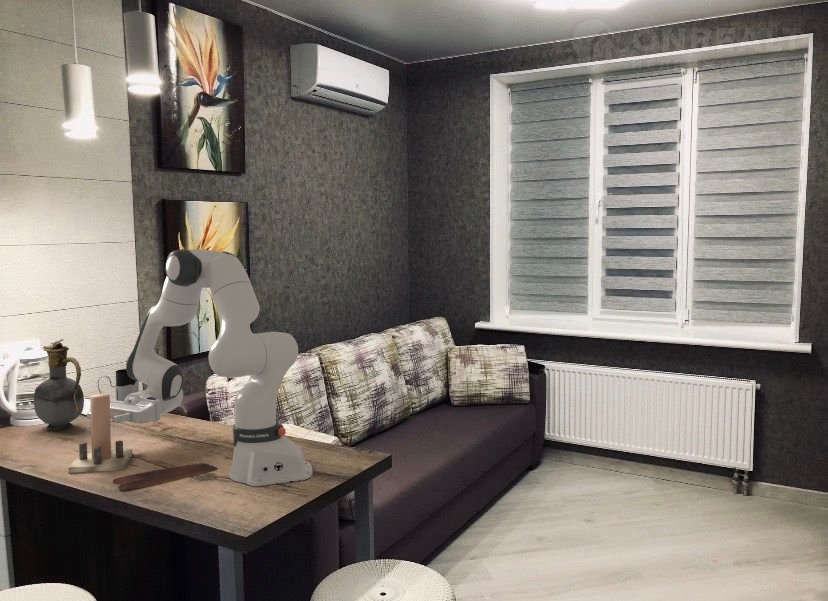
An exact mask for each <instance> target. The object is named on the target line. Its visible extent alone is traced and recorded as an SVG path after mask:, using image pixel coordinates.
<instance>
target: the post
mask: <svg viewBox="0 0 828 601" xmlns="http://www.w3.org/2000/svg"><path fill="white" fill-rule="evenodd" d="M110 398H111V396H110V394H109V393H102V394H100V393H97V394H92V395H90V397H89V400H90V402H89V405H90V407H91V419H90V432H91V433H90V436H91V437H90V438H91V443H90V444H91V451H92V460H94V454H93V448H94V447H101V456H102V460H107V459H110V458H111V450H112V443H111V442H112V441H111V439H112V438H111V435H112V434H111V419H110V400H111V399H110ZM90 407H89V408H90Z"/></svg>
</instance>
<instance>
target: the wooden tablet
mask: <svg viewBox="0 0 828 601" xmlns="http://www.w3.org/2000/svg"><path fill="white" fill-rule="evenodd" d="M217 469H218V467H216V466H215V465H212V464H209V463H205V462H199V463H192V464H186V465H178V466H173V467H166V468H160V469H155V470H149V471H144V472H143V471H142V472H138V473H134V474H129V475H124V476H120V477H117V478H114V479H112V484H114V485H117V486H118V487H117V488H118V490H119V491H121V492H128V491H133V489H134V490H137V489H138V488H139V489H143V488H148V487H153V486H155V485H156V484H157V485H161V484H165V482H166V483H170V482H174V481H179V480H182V478H183V479H186V477H187V478H191V477H195V476H198V475H202V474H206V473H210V472H213V471H216V470H217ZM173 480H174V481H173ZM169 481H170V482H169ZM152 485H153V486H152ZM157 485H156V486H157ZM147 486H148V487H147Z"/></svg>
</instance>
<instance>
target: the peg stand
mask: <svg viewBox="0 0 828 601" xmlns="http://www.w3.org/2000/svg"><path fill="white" fill-rule="evenodd" d="M78 450H79V452H78V455H77V456H76V457H75V458H74V460H73V461H72V462H71V463H70V465H69V466H68V474H70V473H71V474H72V473H73V474H74V473H89V472H90V473H91V472H107V471H108V472H110V471H111V472H112V471H124V469H125V468H126V466H127V465H128V462H129V460H130V459H131V457H132V455H133V449H132V448H124V440H116V441H115V449H111V458H110V459H107V460H102V456H101V447H94V448H93V454H94V460H92V450H88V443H87V442H86V441H85V442H84V441H83V442H79V444H78Z"/></svg>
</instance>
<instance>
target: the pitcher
mask: <svg viewBox="0 0 828 601" xmlns="http://www.w3.org/2000/svg"><path fill="white" fill-rule="evenodd" d="M61 342H64V338H62V339H59V340H55V341H53V342H50V343H49V345H47V346H45V345H43V347H42V349H43V351H44V352H46V354H47V357H48V364H47V365H48V368H49V378H48V379H46V380H44V381H42V382H40V384H38V386H36V388H35V389H34V394H33V407H34V408H33V409H34V412H35V414H36V416H37V418H38V419H39V420H41V421H42V422H43V423H44V424H47V426H46V427H47V430H48V429H49V431H52V430H58V431H59V430H62V431H66V429H67V430H70V429H72V428H73V423H72V422H73V421H74V420H76V419H77V418H78V417H80V415H81V414H82V413H83V410H84V407H85V398H84V397H85V396H84V392H83V388H82V387H81V385H80V380H81V377H82V369H81V365H80V362H79V361H78V360H77V359H76V358H75V357H73V356H72V357H71V356H70V357H68V351H69V350H70V347H68V346H66V345H63V343H61ZM68 363H71V364H72V365H74V367H75V371H76V373H75V374H76V377H75V380H74V379H72V378H70V377H67V366H68ZM71 427H72V428H71ZM69 428H70V429H69ZM58 431H57V432H58Z"/></svg>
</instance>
